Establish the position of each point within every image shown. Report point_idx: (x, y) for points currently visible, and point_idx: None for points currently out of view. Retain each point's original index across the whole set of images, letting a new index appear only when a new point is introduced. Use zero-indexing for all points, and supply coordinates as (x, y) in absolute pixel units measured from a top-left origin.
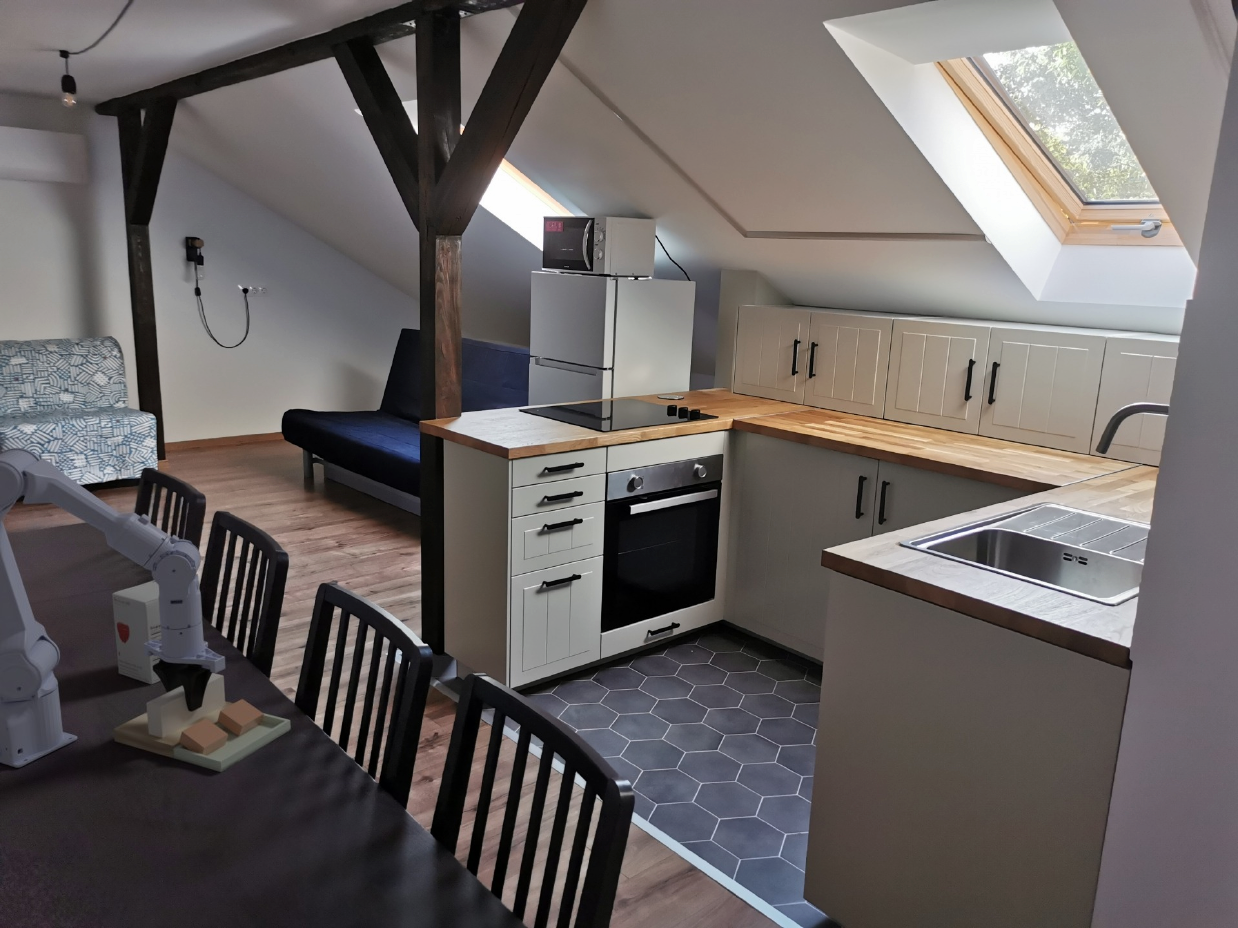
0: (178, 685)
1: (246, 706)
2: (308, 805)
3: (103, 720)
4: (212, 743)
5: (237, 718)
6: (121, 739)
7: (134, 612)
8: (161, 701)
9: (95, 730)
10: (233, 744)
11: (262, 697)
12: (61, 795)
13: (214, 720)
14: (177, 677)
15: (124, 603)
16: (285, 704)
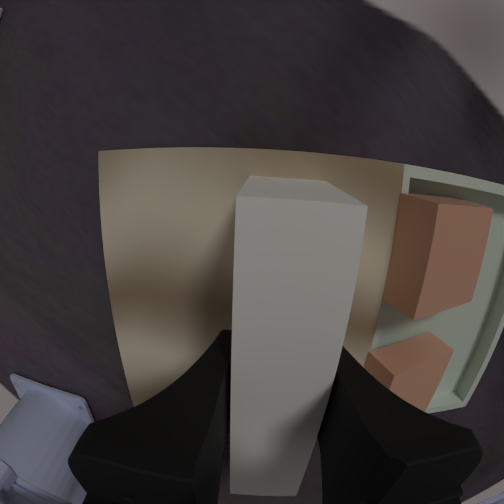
0: (225, 412)
1: (459, 226)
2: None
3: (40, 320)
4: (434, 391)
5: (457, 293)
6: None
7: None
8: (271, 483)
9: (70, 360)
10: (446, 321)
11: (326, 13)
12: (241, 495)
13: (369, 298)
14: (218, 448)
15: None
16: (430, 43)
